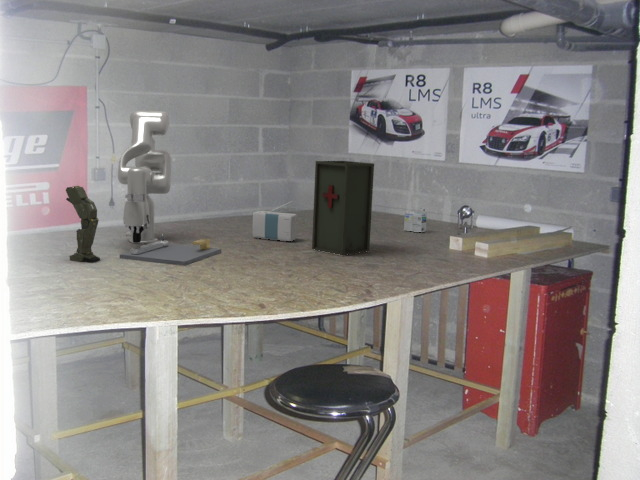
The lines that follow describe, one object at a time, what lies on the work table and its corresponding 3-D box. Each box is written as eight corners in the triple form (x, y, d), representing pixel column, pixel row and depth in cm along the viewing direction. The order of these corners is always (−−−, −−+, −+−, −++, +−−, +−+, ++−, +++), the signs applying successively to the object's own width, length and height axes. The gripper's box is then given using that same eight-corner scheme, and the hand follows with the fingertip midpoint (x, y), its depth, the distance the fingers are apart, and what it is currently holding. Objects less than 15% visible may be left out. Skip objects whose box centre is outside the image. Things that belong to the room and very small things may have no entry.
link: (160, 244, 294) (160, 233, 293) (170, 245, 292) (170, 234, 292) (128, 253, 271) (128, 241, 271) (139, 254, 270) (139, 242, 269)
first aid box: (369, 251, 308) (374, 163, 302) (342, 256, 295) (347, 163, 288) (338, 245, 320) (342, 160, 314) (311, 249, 307) (315, 161, 300)
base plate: (119, 258, 270) (119, 254, 270) (161, 246, 300) (161, 242, 300) (184, 265, 262) (184, 261, 261) (221, 252, 292) (221, 248, 291)
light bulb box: (426, 232, 375) (427, 213, 373) (421, 233, 369) (422, 214, 368) (408, 230, 381) (409, 211, 379) (403, 231, 375) (404, 212, 373)
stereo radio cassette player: (251, 238, 330) (252, 197, 327) (259, 236, 337) (260, 196, 334) (290, 243, 322) (292, 201, 319) (297, 240, 330) (299, 199, 327)
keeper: (192, 251, 283) (192, 241, 282) (203, 247, 292) (203, 238, 291) (199, 252, 282) (199, 242, 281) (210, 248, 291) (210, 239, 290)
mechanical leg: (110, 258, 264) (94, 182, 261) (98, 262, 257) (81, 184, 254) (81, 263, 268) (65, 188, 266) (69, 266, 262) (52, 190, 259)
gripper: (116, 197, 278) (116, 242, 281) (147, 199, 274) (147, 244, 276) (126, 196, 285) (126, 239, 288) (157, 198, 281) (157, 242, 283)
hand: (136, 242), depth 282 cm, fingers closed
